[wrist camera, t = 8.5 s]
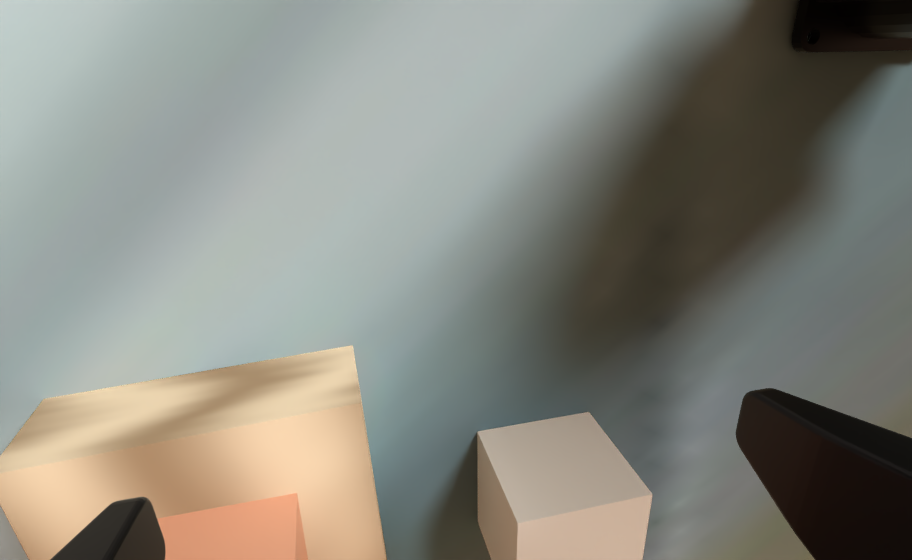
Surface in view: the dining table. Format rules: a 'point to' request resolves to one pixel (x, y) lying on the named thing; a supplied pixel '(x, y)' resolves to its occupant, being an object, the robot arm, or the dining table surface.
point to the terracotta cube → (238, 532)
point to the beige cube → (559, 493)
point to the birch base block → (202, 453)
